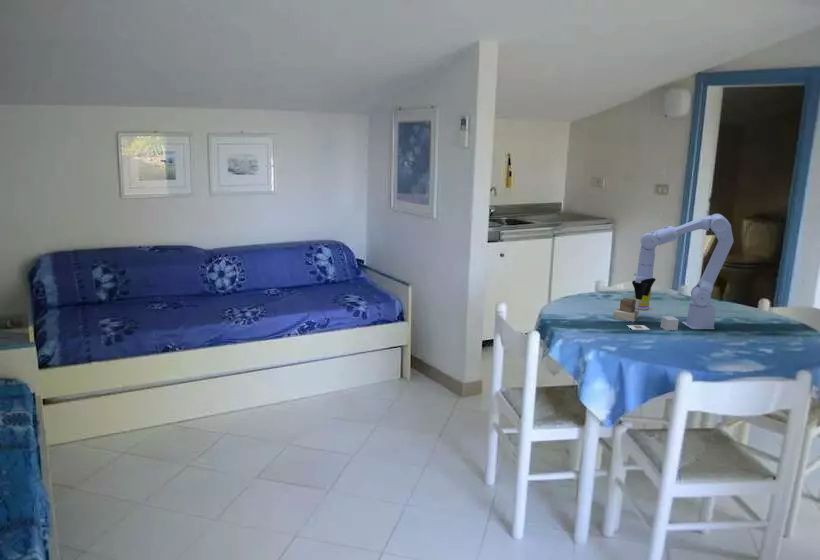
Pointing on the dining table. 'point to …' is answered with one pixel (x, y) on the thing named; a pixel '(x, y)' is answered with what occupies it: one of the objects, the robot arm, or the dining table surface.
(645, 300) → the supplement bottle
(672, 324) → the grey block
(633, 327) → the card
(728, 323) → the dining table surface
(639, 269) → the robot arm
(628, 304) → the walnut block
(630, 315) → the birch base block
